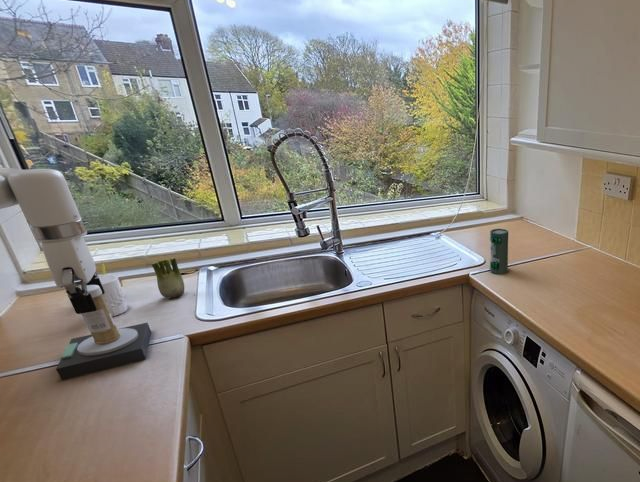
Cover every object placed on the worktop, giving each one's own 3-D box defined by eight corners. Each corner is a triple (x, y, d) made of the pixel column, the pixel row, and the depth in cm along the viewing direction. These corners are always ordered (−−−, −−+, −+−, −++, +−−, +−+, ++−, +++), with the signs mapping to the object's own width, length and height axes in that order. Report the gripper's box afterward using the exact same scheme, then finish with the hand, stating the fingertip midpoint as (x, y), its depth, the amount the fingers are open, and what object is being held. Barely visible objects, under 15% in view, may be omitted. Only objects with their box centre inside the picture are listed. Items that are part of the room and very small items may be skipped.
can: (489, 268, 149) (488, 229, 144) (504, 266, 151) (505, 228, 145) (492, 274, 144) (492, 234, 138) (509, 273, 146) (509, 233, 140)
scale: (61, 380, 87) (54, 365, 86) (76, 349, 98) (70, 335, 96) (145, 359, 95) (140, 345, 93) (151, 332, 105) (146, 319, 104)
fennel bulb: (187, 291, 127) (175, 255, 122) (186, 297, 123) (173, 260, 119) (164, 295, 124) (151, 258, 119) (161, 301, 120) (148, 264, 116)
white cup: (91, 322, 109) (76, 289, 105) (93, 311, 115) (79, 279, 111) (130, 313, 114) (116, 281, 110) (130, 303, 119) (118, 272, 115)
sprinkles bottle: (125, 333, 98) (104, 283, 92) (113, 343, 94) (90, 291, 88) (102, 335, 97) (79, 284, 91) (89, 346, 92) (64, 293, 87)
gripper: (45, 222, 89) (77, 292, 96) (19, 245, 76) (57, 324, 83) (92, 217, 93) (119, 285, 100) (75, 238, 80) (107, 314, 87)
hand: (91, 303), depth 91 cm, fingers open, 9 cm apart
